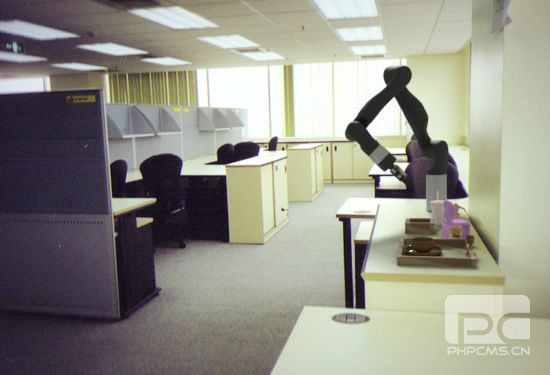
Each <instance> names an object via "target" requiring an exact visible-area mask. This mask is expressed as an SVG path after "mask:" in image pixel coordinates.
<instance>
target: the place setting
mask: <svg viewBox="0 0 550 375" xmlns="http://www.w3.org/2000/svg"><path fill="white" fill-rule="evenodd" d="M412 238H413V239H412V245H411V246H404V252H405V254H406V255H407V256H430V257H438V256H439V255H441V253H443V250H445V251H447V250H452V249H453V247H450V248H449V247H448V248H445V247H442V246H436V245H434V239H433V238H434V237H433V238H432V237H430V236H429V237H427V236H420V237H419V236H418V237H417V236H416V237H412ZM466 243H467V244H468V245H469V247H472V246H473V245H474V244H475V235H471V234H470V235H467V236H466ZM472 248H473V247H472ZM410 250H413V251H412V252H409V251H410ZM465 254H466V255H467V256H468V252H467V251H466V253H465ZM474 255H476V253H475V252H474Z"/></svg>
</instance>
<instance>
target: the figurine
mask: <svg viewBox="0 0 550 375" xmlns="http://www.w3.org/2000/svg"><path fill="white" fill-rule="evenodd" d="M453 204H454V205H455V206H456V215H455V216H453V219H461V213H460V212H459V210H460V209H461V210H463V211H464V212H465V214H466V216H467V217H469V214H468V212H467V209H466V208H464V207H462V206H461V205H458V203H457V202H456V203H453ZM444 217H446V214H445V213H444ZM450 233H451V235H453V236H454V237H459V236H461V234H462V226H461V225H457V226H453V227H452V228H451V230H450Z"/></svg>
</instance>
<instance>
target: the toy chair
mask: <svg viewBox="0 0 550 375" xmlns="http://www.w3.org/2000/svg"><path fill="white" fill-rule="evenodd" d="M454 204H455V203H453V202H452V201H450V200H448V199H447V200H445V201H444V203H443V206H444V209H445V211H444V214H446V215H445V219H443V223H442V225H441V235H440V237H439V238H441V239H450V238H449V237H450V233H451V228H452V227H453V226H457V225H459V226H460V227H461V228H462V233H461V234H460V237H459V239H466V236H467V235H471V234H470V232H471V225H470V221H467V220H464V219H461V218H460V219H458V218H454V219H453V216H455V217H456V216H457V215H456V206H455V205H454Z"/></svg>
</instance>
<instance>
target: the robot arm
mask: <svg viewBox="0 0 550 375" xmlns="http://www.w3.org/2000/svg"><path fill="white" fill-rule="evenodd" d="M382 76H383V81H384V84H385V85H386V86H385V87H384V88H383V89H382V90H380V91H379V92H378V93H376V94H374V96H373V95H372V97H371V98H369V99H368V100H367V101H366V102H365V104H364V105H363V107H361V109H360V110H359V112H358V113H357V115H356V117H355V118H354V119H353V120H352V121H351V122H349V123H348V124H347V126H346V128H345V130H344V136H345V139H346V140H348V141H350V142H356V143H357V144H358V145H359V146H360V149H361V150H360V151H362V152H363V153H364V154H365V155H366V156H367V157H368V158H369V159H370V160H371V161H372V162H373V163H374V164H375V165H376V166H377V167H378V168H380V170H381V171H382V172H384V173H386V172H387V171H388V170H389V172H390V174H392V175H393V176H394V177H395V178H396V179H397V180H398V181H399V182H401V183H403V185H405V186H406V187H407V188H408V189H409V188H411V187H412V186H413V183H414V181H413V179H412V178H410V177H409V176H408V173H407V172H405V171H404V170H403V169H402V168H401V166H400V165H398V164H395V163H396V162H397V160H398V158H397V157H396V156H394V154H392V153H391V152H390V151H389V150H388V149H387V148H386V147H385V146H383V144H381V143H380V142H378V141H377V139H375V138H374V137H373V135H371V133H370V132H369V131H368V127H369V126H370V125H371V123H373V121H374V120H375V119H376V118H377V116H379V114H380V113H381V112H382V111H383V109H384V108H385V107H386V106H387V104H389V103H390V102H391V101H392V100H393V99H394V98H395V100H396V103H397V104H398V106H399V107H400V109H401V112H402V113H403V115H404V117H405V120H406V121H407V124H408V125H409V127H410V129H411V131H412V133H413V135H414V137H415V140H416V141H417V144H418V148H419V149H420V151H421V154H422V156H423V157H424V159H426V160H430V161H431V160H432V161H433V160H434V163H433V164H432V165H431V166H429V167H426V169H425V188H426V189H425V194H426V195H425V197H426V198H425V199H426V200H425V201H426V206H425V207H426V208H425V209H426V211H428V212H432V211H431V204H430V201H433V200H437V191H438V200H443V201H445V200H448V199H447V198H448V197H447V194H448V192H447V191H448V190H447V188H448V186H447V185H448V183H447V182H448V181H447V171H448V166H449V145H448V143H447V141H446V140H443V139H440V140H439V139H432V138H431V137H430V135H429V133H428V126H429V125H428V124H429V115H428V112H427V110H426V108H425V106H424V104H423V102H422V101H420V99H418V97H416V95H414V94H413V92H411V91H410V90H409V89H408V87H407V86H408V85H410V83H411V81H412V78H413V72H412V69H411V68H410V67H409V66H408V65H403V64H402V65H401V64H399V65H398V64H397V65H395V64H393V65H388V66H387V67H385V68H384V70H383V74H382Z"/></svg>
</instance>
